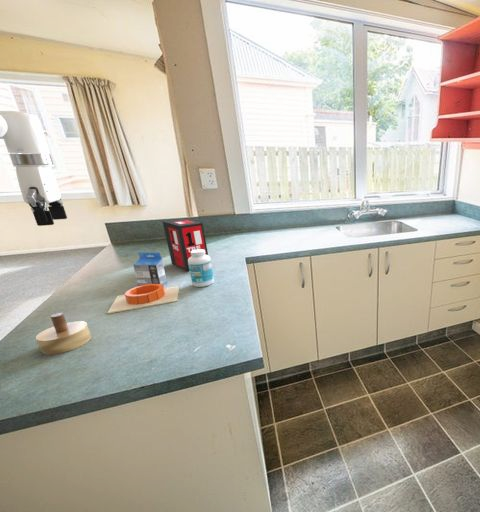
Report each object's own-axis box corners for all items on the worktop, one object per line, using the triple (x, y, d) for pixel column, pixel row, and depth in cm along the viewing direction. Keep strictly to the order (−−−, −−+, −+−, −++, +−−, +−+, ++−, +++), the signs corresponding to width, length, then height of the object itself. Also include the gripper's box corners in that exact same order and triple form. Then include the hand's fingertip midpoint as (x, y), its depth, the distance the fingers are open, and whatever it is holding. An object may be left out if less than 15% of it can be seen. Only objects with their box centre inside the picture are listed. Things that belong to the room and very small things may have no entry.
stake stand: (33, 359, 71) (21, 328, 69) (50, 339, 79) (39, 311, 76) (85, 347, 76) (75, 318, 73) (95, 330, 83) (87, 303, 81)
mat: (107, 314, 92) (107, 312, 92) (118, 296, 103) (117, 295, 103) (176, 301, 101) (176, 300, 101) (179, 286, 112) (179, 285, 112)
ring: (124, 307, 95) (121, 298, 95) (131, 294, 104) (128, 287, 103) (162, 300, 100) (160, 292, 99) (166, 289, 109) (164, 281, 108)
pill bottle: (187, 285, 113) (180, 252, 109) (204, 279, 120) (198, 247, 116) (202, 288, 111) (196, 254, 107) (219, 281, 117) (213, 249, 113)
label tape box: (137, 285, 112) (129, 255, 109) (145, 281, 116) (138, 251, 113) (160, 286, 112) (153, 255, 109) (168, 282, 116) (161, 252, 113)
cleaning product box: (172, 264, 136) (162, 221, 130) (192, 259, 143) (184, 218, 137) (189, 271, 127) (179, 226, 121) (210, 266, 134) (202, 222, 128)
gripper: (28, 160, 87) (48, 218, 92) (-6, 161, 73) (19, 229, 78) (63, 160, 90) (80, 216, 96) (37, 161, 76) (59, 226, 81)
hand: (53, 222), depth 87 cm, fingers open, 9 cm apart
